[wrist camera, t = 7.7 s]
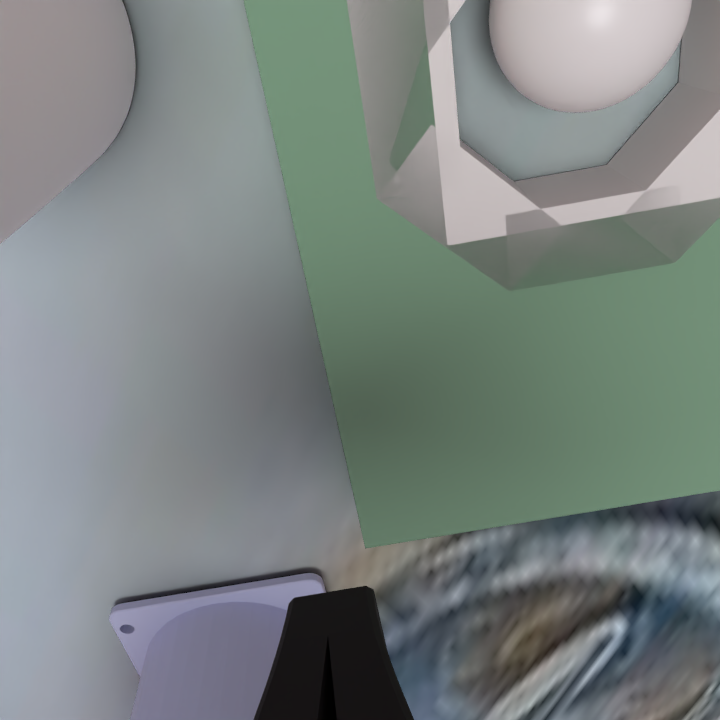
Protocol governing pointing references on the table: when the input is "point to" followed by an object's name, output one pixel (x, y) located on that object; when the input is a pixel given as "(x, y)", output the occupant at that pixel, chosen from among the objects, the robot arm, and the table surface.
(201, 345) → the table surface
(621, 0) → the ball
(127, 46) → the can
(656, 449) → the putting mat
